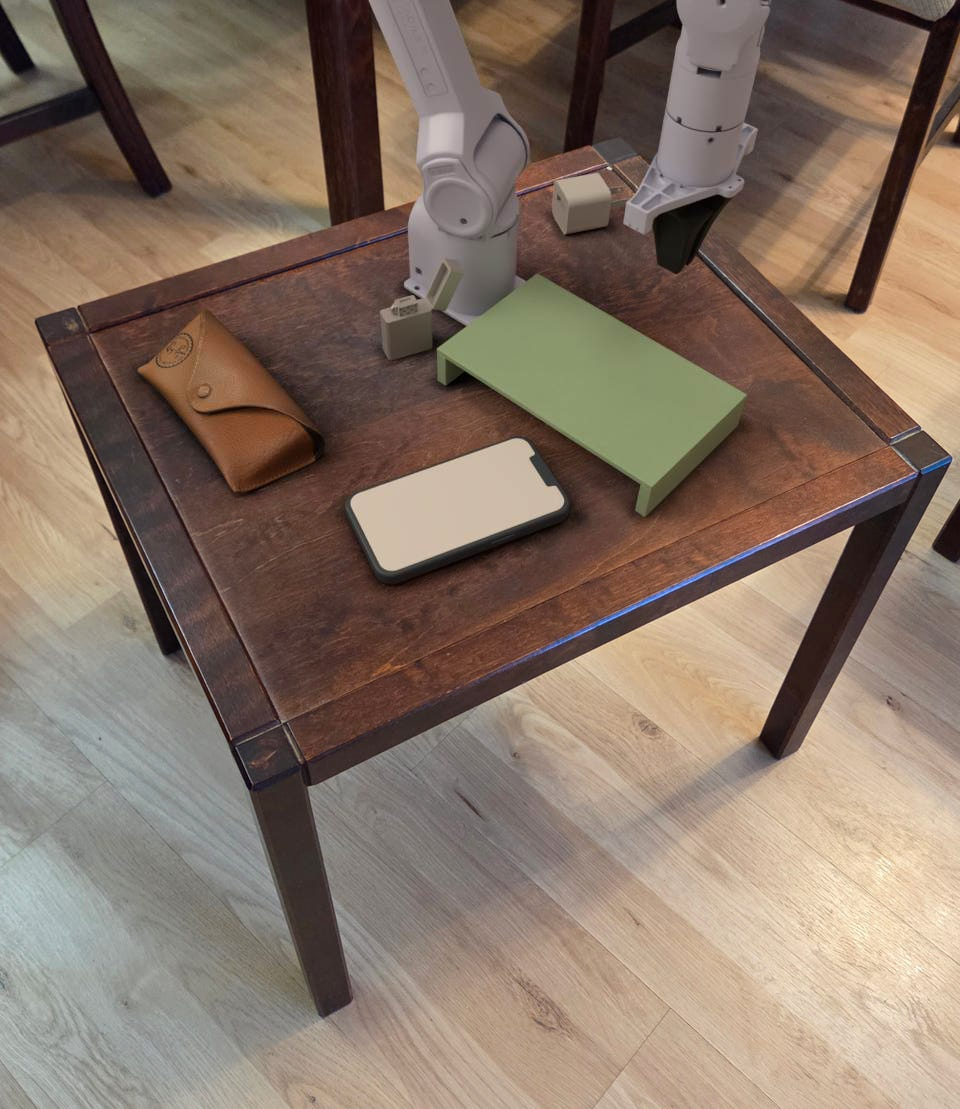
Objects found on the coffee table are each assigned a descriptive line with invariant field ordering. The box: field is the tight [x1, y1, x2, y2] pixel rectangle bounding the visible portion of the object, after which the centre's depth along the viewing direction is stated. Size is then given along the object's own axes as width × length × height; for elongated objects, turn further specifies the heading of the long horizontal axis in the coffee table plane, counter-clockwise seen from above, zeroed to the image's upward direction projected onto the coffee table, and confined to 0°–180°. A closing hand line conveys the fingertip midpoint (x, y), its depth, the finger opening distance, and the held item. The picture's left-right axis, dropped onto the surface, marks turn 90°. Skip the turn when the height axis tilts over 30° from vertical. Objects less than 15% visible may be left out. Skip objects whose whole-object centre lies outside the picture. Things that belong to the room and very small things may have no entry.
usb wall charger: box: [551, 172, 632, 235], centre depth 102 cm, size 4×7×4 cm, turn 108°
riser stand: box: [436, 273, 748, 518], centre depth 87 cm, size 22×13×4 cm, turn 48°
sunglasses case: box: [137, 307, 326, 494], centre depth 86 cm, size 18×7×7 cm
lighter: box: [379, 258, 464, 361], centre depth 89 cm, size 7×2×8 cm, turn 114°
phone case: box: [344, 435, 571, 585], centre depth 81 cm, size 9×2×16 cm
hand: (674, 263), depth 87 cm, fingers closed
